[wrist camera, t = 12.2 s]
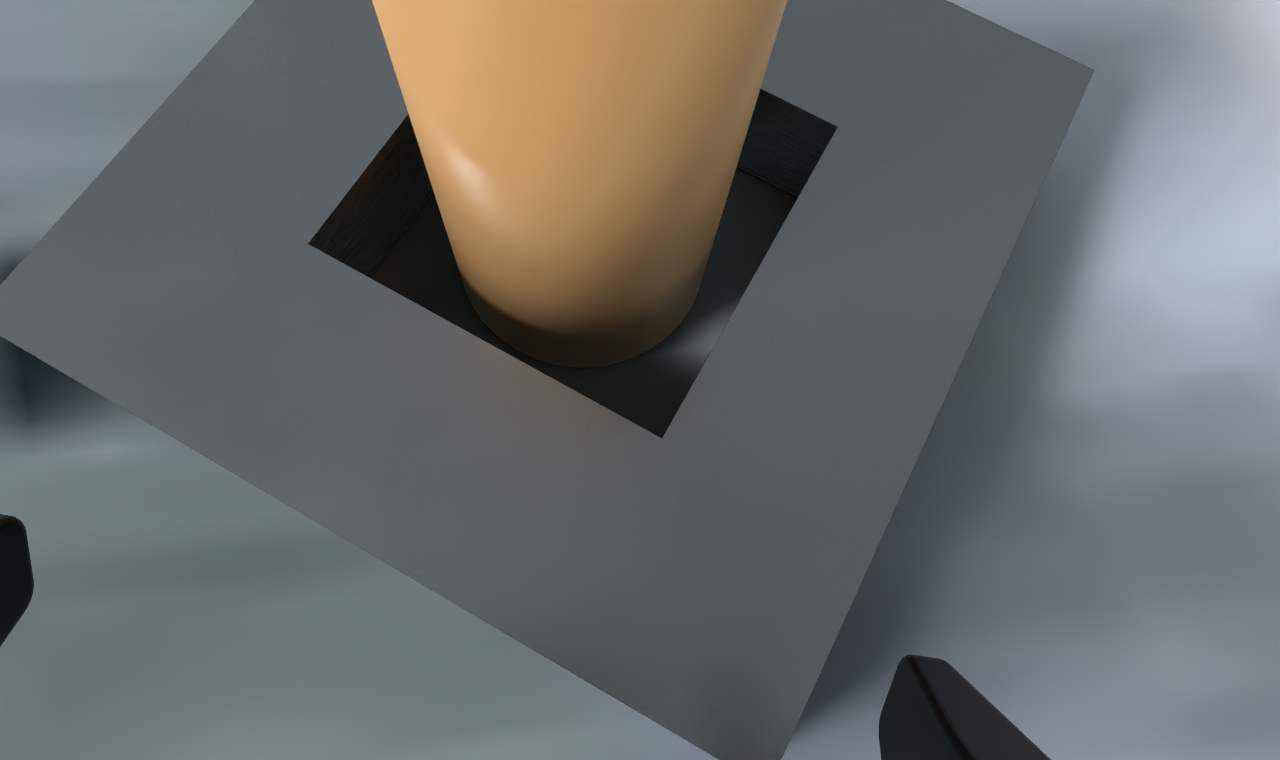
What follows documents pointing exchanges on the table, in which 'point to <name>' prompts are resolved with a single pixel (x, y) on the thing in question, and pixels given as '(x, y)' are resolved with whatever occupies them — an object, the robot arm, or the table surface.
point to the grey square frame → (537, 404)
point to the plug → (581, 155)
